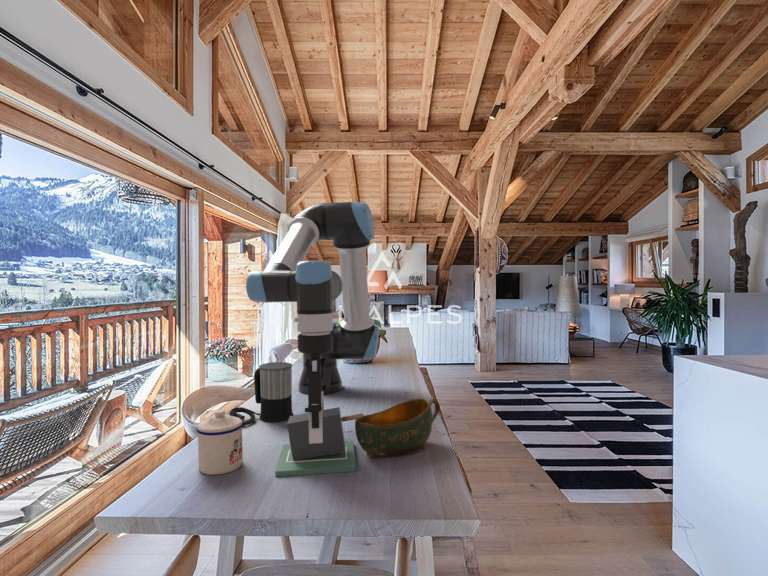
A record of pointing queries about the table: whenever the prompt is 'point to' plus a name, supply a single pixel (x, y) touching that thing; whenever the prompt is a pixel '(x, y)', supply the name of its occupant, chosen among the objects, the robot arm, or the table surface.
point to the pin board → (316, 462)
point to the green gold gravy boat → (397, 429)
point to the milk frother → (271, 393)
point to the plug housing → (331, 434)
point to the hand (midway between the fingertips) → (317, 430)
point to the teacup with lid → (220, 444)
